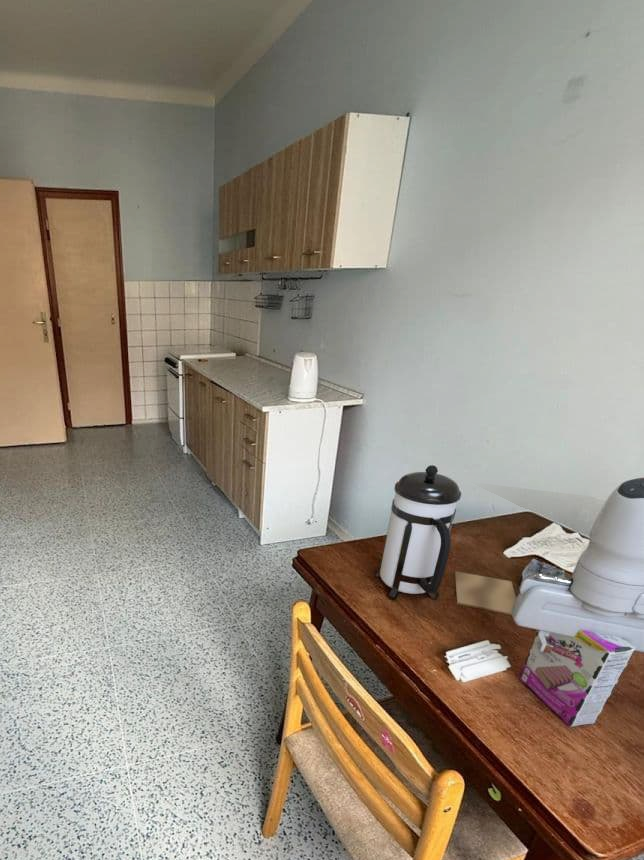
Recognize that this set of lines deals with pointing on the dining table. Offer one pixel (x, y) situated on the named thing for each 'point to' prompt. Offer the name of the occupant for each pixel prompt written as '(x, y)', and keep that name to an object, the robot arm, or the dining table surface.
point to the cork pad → (484, 592)
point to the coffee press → (419, 533)
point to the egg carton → (541, 569)
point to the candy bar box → (576, 673)
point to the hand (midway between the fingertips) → (574, 657)
